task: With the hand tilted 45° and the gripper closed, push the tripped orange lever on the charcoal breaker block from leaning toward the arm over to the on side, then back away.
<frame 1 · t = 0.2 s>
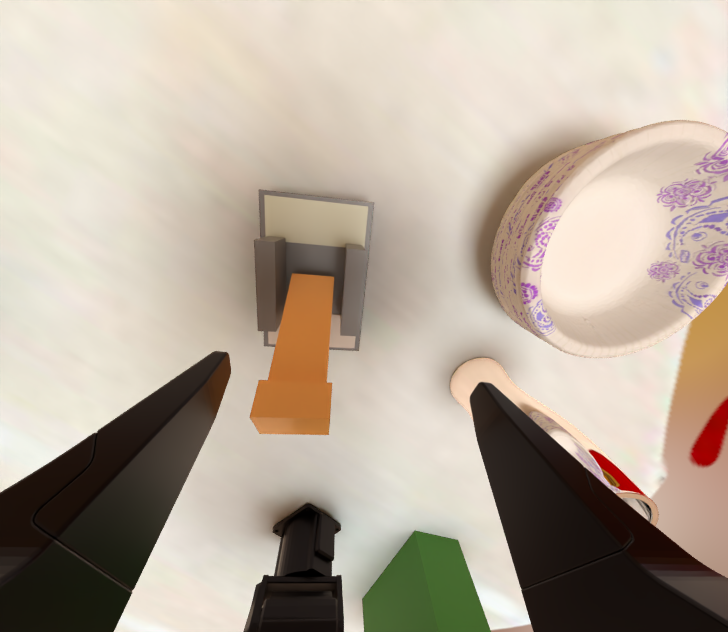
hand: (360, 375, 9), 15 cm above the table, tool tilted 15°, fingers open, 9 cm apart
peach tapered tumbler: (475, 380, 29), on the table
hardback book: (407, 569, 41), on the table
paper bowls: (550, 245, 25), on the table
breaker block: (317, 272, 23), on the table
breaker lever: (305, 336, 17), point 8 cm above the table, hinge at -30.0°
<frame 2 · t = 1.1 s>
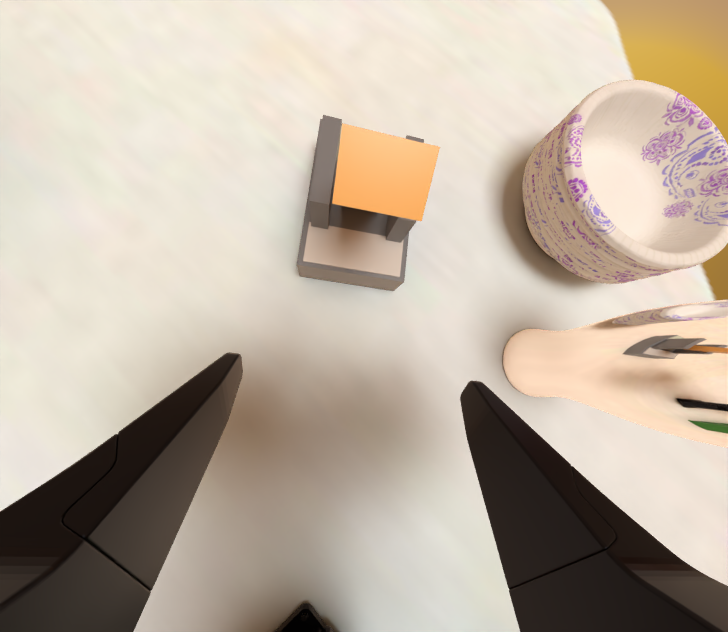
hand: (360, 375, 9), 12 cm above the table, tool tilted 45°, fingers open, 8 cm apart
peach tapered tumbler: (530, 362, 24), on the table
paper bowls: (563, 220, 27), on the table
breaker block: (356, 218, 23), on the table
breaker lever: (370, 186, 15), point 8 cm above the table, hinge at -30.0°
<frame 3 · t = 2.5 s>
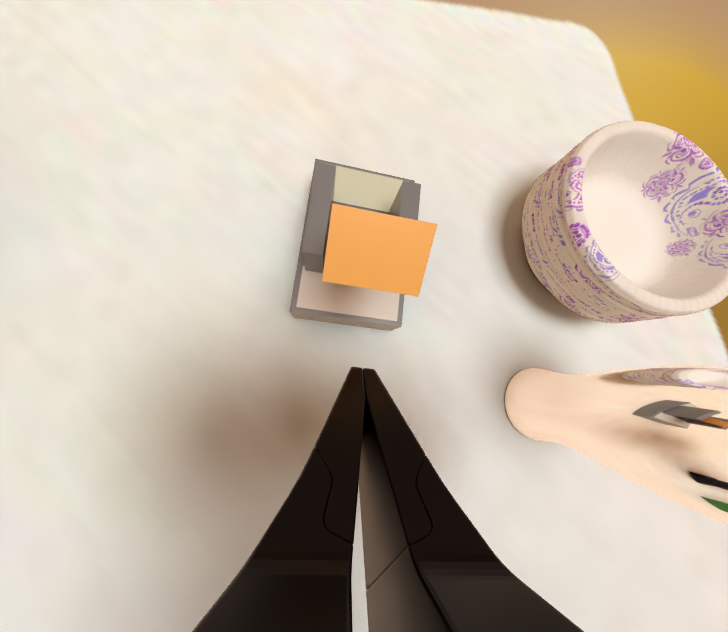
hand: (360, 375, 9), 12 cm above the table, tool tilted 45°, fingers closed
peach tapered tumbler: (533, 402, 24), on the table
paper bowls: (564, 253, 27), on the table
breaker block: (352, 255, 23), on the table
breaker lever: (365, 240, 14), point 8 cm above the table, hinge at -30.0°
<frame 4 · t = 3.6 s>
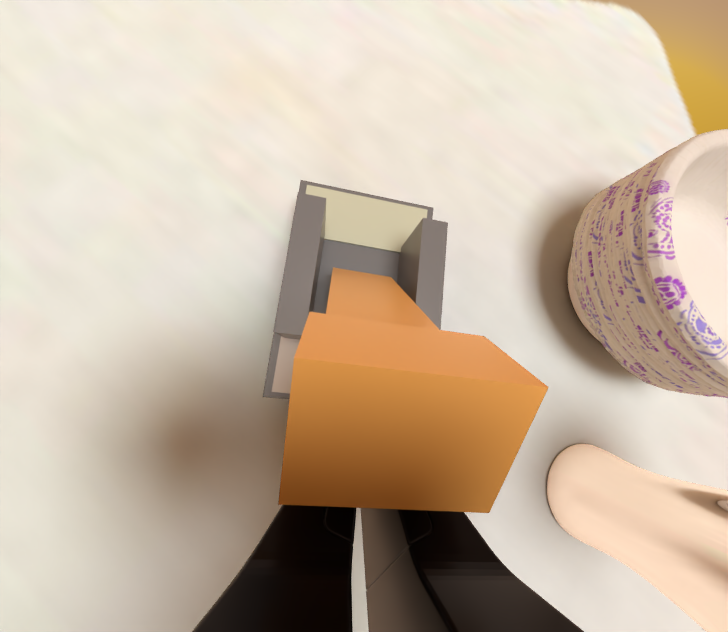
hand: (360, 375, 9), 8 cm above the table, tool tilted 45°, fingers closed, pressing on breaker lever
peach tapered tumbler: (581, 488, 18), on the table
paper bowls: (614, 291, 21), on the table
breaker block: (351, 302, 18), on the table
breaker lever: (369, 320, 9), point 8 cm above the table, hinge at -28.4°, touching gripper
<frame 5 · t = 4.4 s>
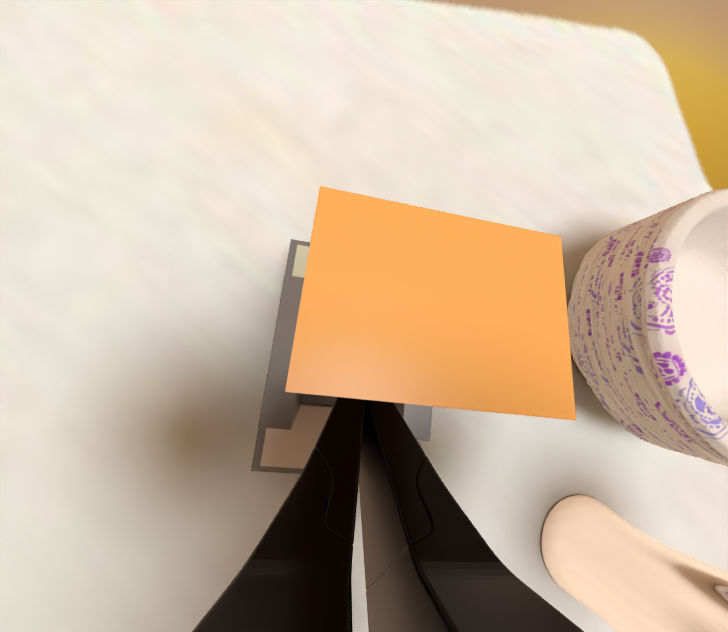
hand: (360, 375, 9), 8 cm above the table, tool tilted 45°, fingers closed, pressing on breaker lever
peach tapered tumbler: (576, 540, 18), on the table
paper bowls: (613, 334, 21), on the table
breaker block: (343, 355, 17), on the table
breaker lever: (368, 346, 9), point 9 cm above the table, hinge at 5.1°, touching gripper
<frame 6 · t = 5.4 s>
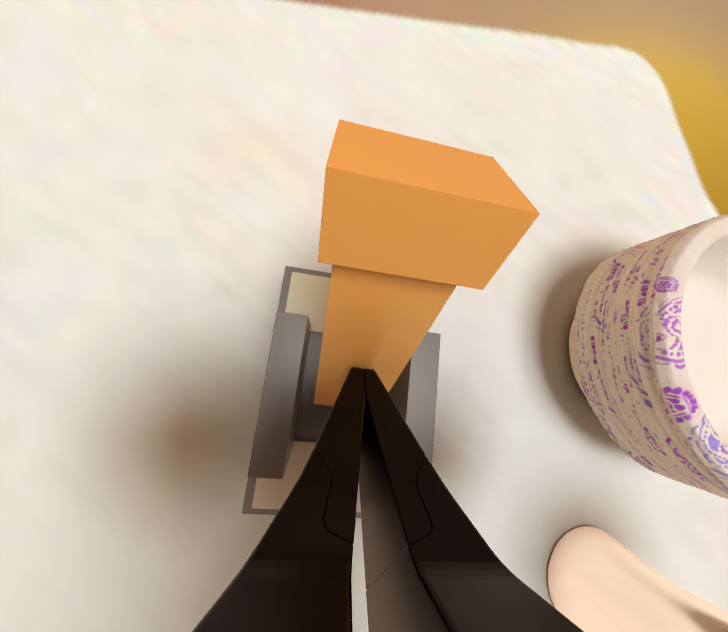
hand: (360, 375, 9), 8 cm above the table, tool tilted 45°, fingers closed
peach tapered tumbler: (584, 574, 17), on the table
paper bowls: (617, 355, 21), on the table
breaker block: (340, 382, 17), on the table
breaker lever: (368, 330, 9), point 8 cm above the table, hinge at 31.3°
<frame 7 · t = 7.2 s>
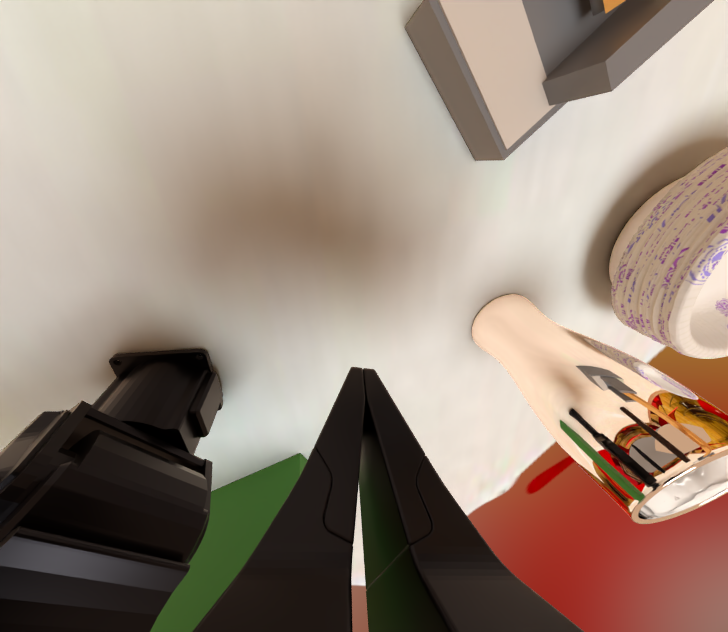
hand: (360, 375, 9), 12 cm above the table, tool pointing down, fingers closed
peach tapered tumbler: (499, 321, 25), on the table
hardback book: (250, 494, 32), on the table
paper bowls: (655, 237, 24), on the table
breaker block: (532, 10, 14), on the table
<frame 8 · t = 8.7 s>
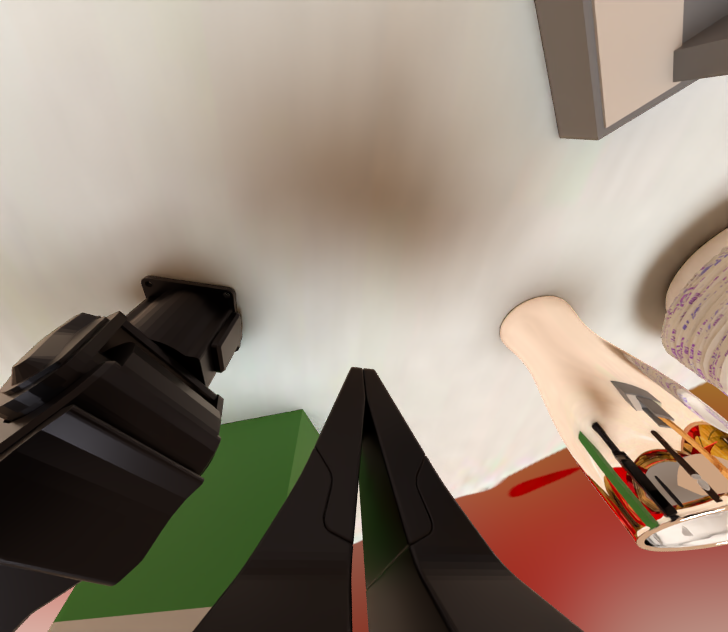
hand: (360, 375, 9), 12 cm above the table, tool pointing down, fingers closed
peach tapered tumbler: (532, 322, 24), on the table
hardback book: (248, 437, 33), on the table
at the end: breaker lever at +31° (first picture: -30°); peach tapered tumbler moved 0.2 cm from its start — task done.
